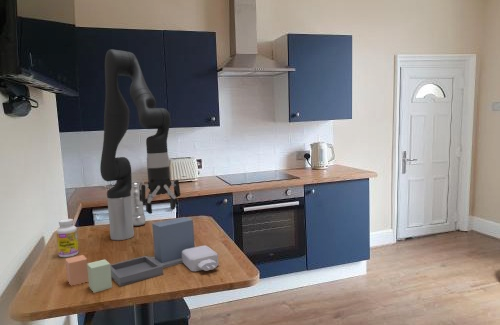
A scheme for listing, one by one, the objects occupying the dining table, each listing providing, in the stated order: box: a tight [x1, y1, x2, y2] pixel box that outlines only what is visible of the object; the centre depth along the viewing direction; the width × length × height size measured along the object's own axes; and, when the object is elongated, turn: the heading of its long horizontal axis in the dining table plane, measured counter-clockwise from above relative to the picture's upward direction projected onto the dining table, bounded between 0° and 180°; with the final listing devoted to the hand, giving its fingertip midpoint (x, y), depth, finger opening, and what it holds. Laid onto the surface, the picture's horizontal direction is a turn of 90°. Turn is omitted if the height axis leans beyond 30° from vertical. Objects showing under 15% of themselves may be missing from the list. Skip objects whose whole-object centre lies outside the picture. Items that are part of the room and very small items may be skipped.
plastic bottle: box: [131, 181, 146, 227], centre depth 173 cm, size 6×7×20 cm
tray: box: [110, 255, 164, 288], centre depth 116 cm, size 13×13×2 cm
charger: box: [182, 244, 220, 273], centre depth 118 cm, size 5×9×15 cm
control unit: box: [150, 216, 196, 269], centre depth 126 cm, size 10×14×13 cm
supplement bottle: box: [56, 218, 79, 258], centre depth 136 cm, size 7×7×13 cm
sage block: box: [87, 258, 113, 294], centre depth 106 cm, size 5×5×7 cm
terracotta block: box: [64, 254, 89, 287], centre depth 111 cm, size 5×5×7 cm
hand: (161, 211), depth 133 cm, fingers open, 8 cm apart
